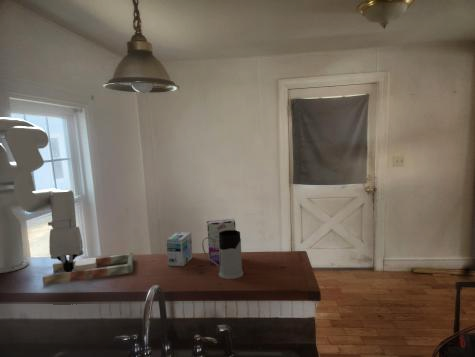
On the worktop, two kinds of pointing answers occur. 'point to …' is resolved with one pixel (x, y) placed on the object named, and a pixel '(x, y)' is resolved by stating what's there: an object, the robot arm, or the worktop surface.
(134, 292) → the worktop surface
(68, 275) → the trap lane
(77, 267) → the cream block
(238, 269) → the white pitcher
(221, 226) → the candy bar box
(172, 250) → the light bulb box
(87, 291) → the worktop surface
